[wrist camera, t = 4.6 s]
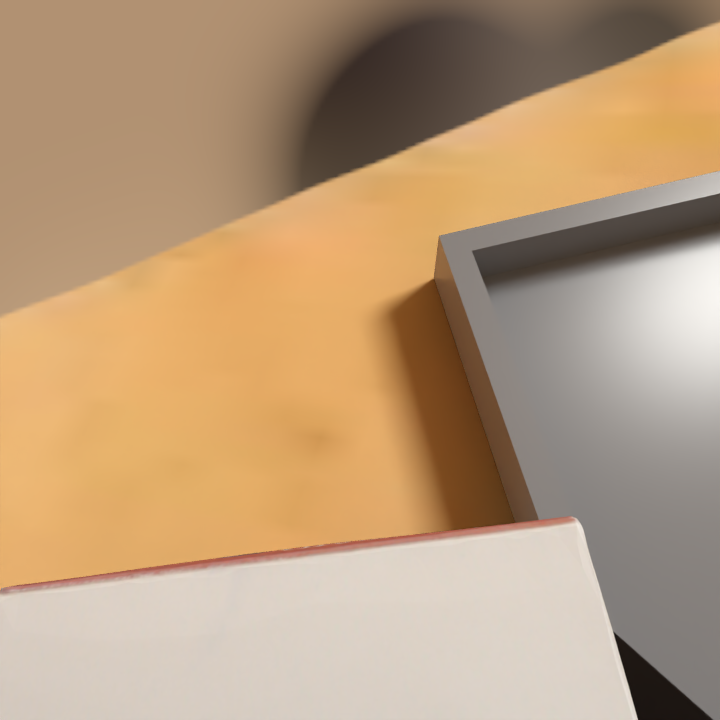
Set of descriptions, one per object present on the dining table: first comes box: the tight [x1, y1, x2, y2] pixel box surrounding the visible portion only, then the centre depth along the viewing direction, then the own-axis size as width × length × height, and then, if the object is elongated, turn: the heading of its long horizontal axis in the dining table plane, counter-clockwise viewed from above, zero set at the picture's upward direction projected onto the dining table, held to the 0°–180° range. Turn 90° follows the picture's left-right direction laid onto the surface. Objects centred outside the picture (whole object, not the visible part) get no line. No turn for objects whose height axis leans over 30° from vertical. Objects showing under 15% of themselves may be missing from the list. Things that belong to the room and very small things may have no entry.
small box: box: [0, 516, 638, 720], centre depth 10 cm, size 8×6×10 cm
